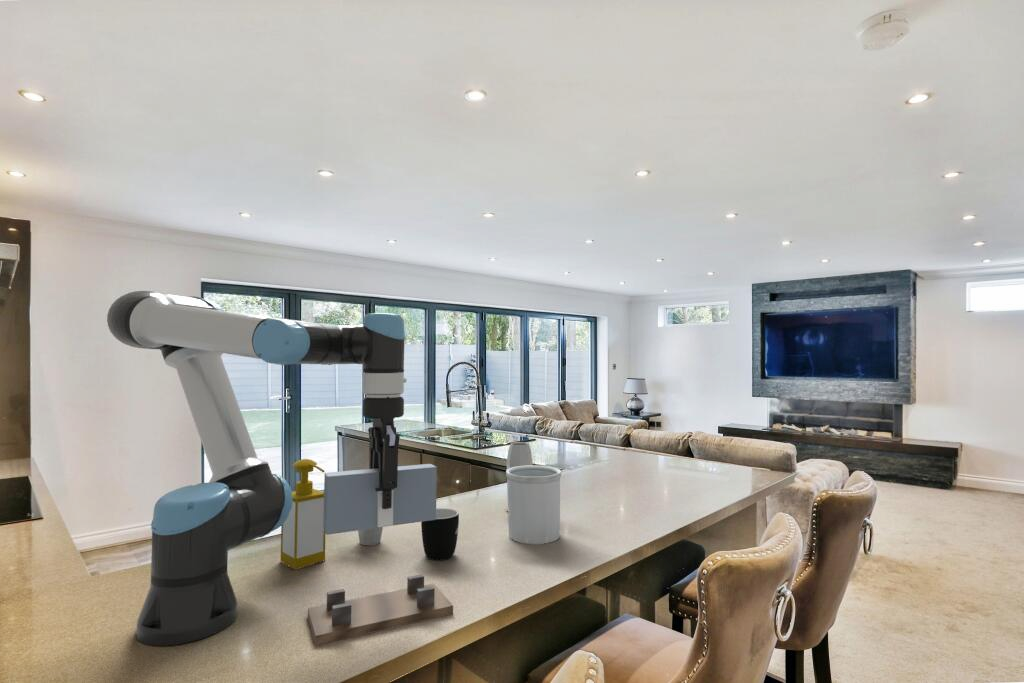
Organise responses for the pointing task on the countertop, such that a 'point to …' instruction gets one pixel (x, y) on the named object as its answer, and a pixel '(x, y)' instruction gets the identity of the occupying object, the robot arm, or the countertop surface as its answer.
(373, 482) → the door panel
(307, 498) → the soap bottle
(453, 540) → the mug
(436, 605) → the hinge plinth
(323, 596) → the countertop surface
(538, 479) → the utensil holder
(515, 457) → the wineglass
